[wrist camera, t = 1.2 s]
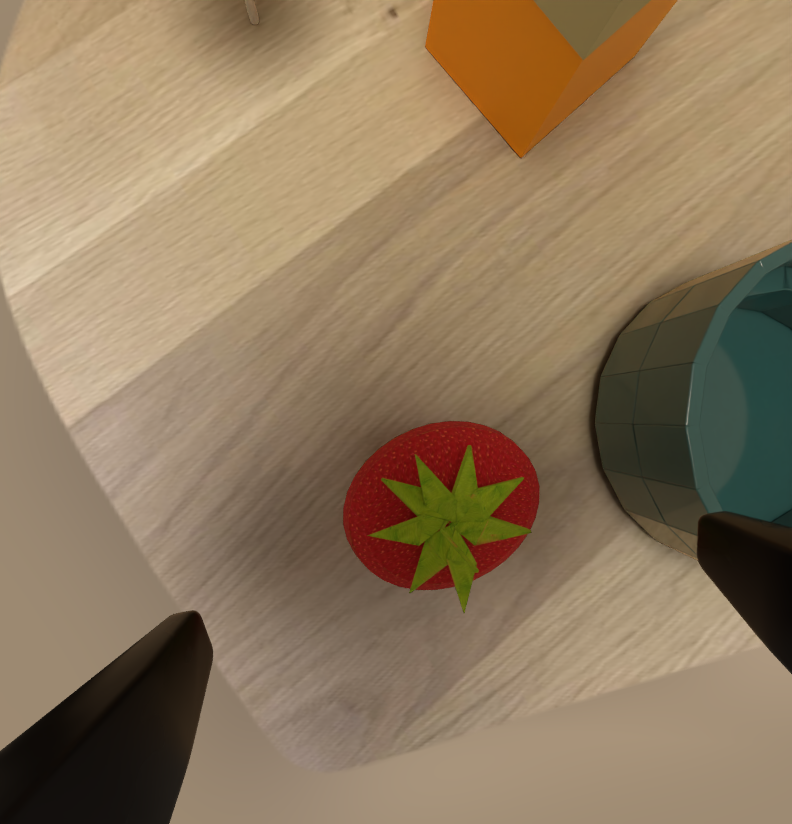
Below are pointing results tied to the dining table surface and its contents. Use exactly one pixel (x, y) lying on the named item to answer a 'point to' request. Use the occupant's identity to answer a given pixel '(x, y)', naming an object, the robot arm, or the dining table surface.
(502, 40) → the orange juice
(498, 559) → the strawberry
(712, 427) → the teal pet bowl
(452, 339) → the dining table surface
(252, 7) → the lollipop
